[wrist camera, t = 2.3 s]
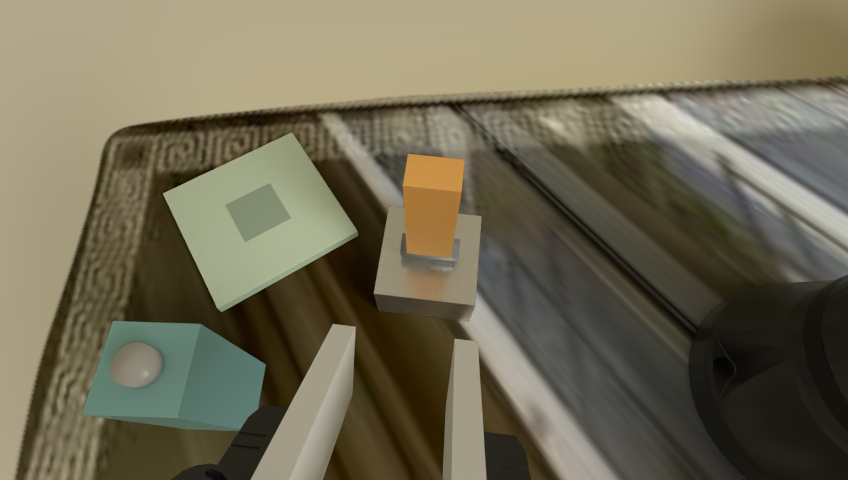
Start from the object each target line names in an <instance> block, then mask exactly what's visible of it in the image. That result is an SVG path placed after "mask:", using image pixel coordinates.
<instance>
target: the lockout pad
mask: <svg viewBox="0 0 848 480" xmlns="http://www.w3.org/2000/svg"><path fill="white" fill-rule="evenodd" d="M163 195H164V197H165V199H166V201H167V203H168V206H169V208H170V210H171V212H172V214H173V216H174V218H175V220H176V222H177V224H178V227H179V229H180V231H181V233H182V235H183V237H184V239H185V241H186V243H187V246H188V248H189V250H190V252H191V254H192V256H193V258H194V260H195V262H196V264H197V267H198V269H199V271H200V273H201V275H202V277H203V279H204V281H205V283H206V285H207V288H208V290H209V292H210V294H211V296H212V298H213V300H214V302H215V304H216V306H217V309H218V310H220V311H221V312H223V311H224V310H226V309H228V308H230V307H232V306H233V305H235V304H237V303H239V302H241V301H242V300H244V299H246V298H248V297H250V296H251V295H253V294H255V293H257V292H259V291H260V290H262V289H264V288H266V287H267V286H269V285H271V284H273V283H275V282H276V281H278V280H280V279H282V278H284V277H285V276H287V275H289V274H291V273H293V272H294V271H296V270H298V269H300V268H301V267H303V266H305V265H307V264H309V263H310V262H312V261H314V260H316V259H318V258H319V257H321V256H323V255H325V254H327V253H328V252H330V251H332V250H334V249H335V248H337V247H339V246H341V245H343V244H344V243H346V242H348V241H350V240H352V239H353V238H355V237H357V236H359V235H358V231H357V230H356V228H355V227H354V225H353V224H352V222H351V221H350V219H349V218H348V216H347V214H346V213H345V211H344V210H343V208H342V207H341V205H340V204H339V202H338V201H337V199H336V198H335V196H334V195H333V193H332V192H331V190H330V189H329V187H328V186H327V184H326V183H325V181H324V180H323V178H322V177H321V175H320V174H319V172H318V171H317V169H316V168H315V166H314V165H313V163H312V162H311V160H310V159H309V157H308V156H307V154H306V153H305V151H304V150H303V148H302V147H301V145H300V143H299V142H298V140H297V139H296V137H295V136H294V134H293V133H292V132H291V133H289V134H287V135H285V136H283V137H281V138H279V139H277V140H275V141H272V142H270V143H268V144H266V145H264V146H262V147H260V148H258V149H256V150H254V151H251V152H249V153H247V154H245V155H243V156H241V157H239V158H237V159H235V160H232V161H230V162H228V163H226V164H224V165H222V166H220V167H218V168H216V169H214V170H211V171H209V172H207V173H205V174H203V175H201V176H199V177H197V178H195V179H192V180H190V181H188V182H186V183H184V184H182V185H180V186H178V187H176V188H173V189H171V190H169V191H167V192H165V193H163Z"/></svg>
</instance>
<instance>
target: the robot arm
mask: <svg viewBox="0 0 848 480" xmlns="http://www.w3.org/2000/svg"><path fill="white" fill-rule="evenodd" d="M354 347H355V327H352V326H344V325H336V324H333V325H332V327H331V329H330V331H329V333H328V335H327V337H326V339H325V340H324V342H323V344H322V346H321V348H320V350H319V352H318V354H317V356H316V357H315V359H314V361H313V363H312V365H311V367H310V369H309V371H308V372H307V374H306V376H305V378H304V380H303V382H302V384H301V386H300V388H299V389H298V391H297V393H296V395H295V397H294V399H293V401H292V403H291V405H290V406H289V408H286V407H278V406H270V405H263V406H262V407H260V408H259V409H258V410H256V411H255V412H254V413H253V414H251V415H250V416H249V417H248V418H247V420H246V421H245V423H244V424H243V426H242V428H241V429H240V431H239V434H238V435H236V437H235V439H234V440H233V442H232V443H231V446H230V447H229V448H228V449H227V451H226V453H225V454H224V456H223V457H222V459H221V460H220V462H219V464H218V465H215V464H204V465H197V466H194V467H191V468H189V469H187V470H184V471H182V472H181V473H179V474H178V475H177V476H175V477H174V478H173V479H171V480H323V477H324V474H325V471H326V468H327V465H328V463H329V460H330V457H331V454H332V451H333V448H334V445H335V443H336V440H337V437H338V434H339V431H340V428H341V425H342V422H343V420H344V417H345V414H346V411H347V408H348V405H349V402H350V400H351V397H352V390H353V368H354ZM689 369H690V381H691V387H692V392H693V396H694V399H695V402H696V405H697V408H698V411H699V413H700V416H701V418H702V420H703V422H704V424H705V426H706V428H707V430H708V431H709V433H710V435H711V436H712V438H713V439H714V441H715V442H716V444H717V445H718V447H719V448H720V449H721V451H722V452H723V453H724V454H725V456H726V457H727V458H728V459H729V460H730V461H731V463H732V464H733V465H734V466H735V467H736V468H737V469H738V470H739V471H740V472H741V473H742V474H743V475H745V476H746V477H747V478H748V479H749V480H848V275H846V276H844V277H842V278H839V279H837V280H827V281H811V282H795V283H780V284H770V285H764V286H760V287H756V288H753V289H750V290H747V291H745V292H742V293H740V294H738V295H736V296H735V297H733V298H731V299H729V300H727V301H725V302H723V303H721V304H720V305H718V306H717V307H716V308H714V309H713V310H712V311H711V312H710V313H709V314H708V315H707V316H706V317H705V319H704V320H703V321H702V323H701V324H700V326H699V328H698V330H697V332H696V334H695V337H694V340H693V343H692V347H691V352H690V364H689ZM443 480H531V478H530V472H529V467H528V461H527V455H526V451H525V449H524V448H523V446H522V445H521V443H520V442H519V440H518V439H517V437H516V436H513V435H505V434H497V433H489V432H483V417H482V402H481V386H480V371H479V355H478V342H477V341H469V340H460V339H455V341H454V348H453V356H452V364H451V371H450V379H449V387H448V395H447V402H446V416H445V438H444V460H443Z"/></svg>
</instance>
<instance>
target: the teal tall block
mask: <svg viewBox="0 0 848 480" xmlns="http://www.w3.org/2000/svg"><path fill="white" fill-rule="evenodd" d="M265 366H266V365H265V364H264V363H262V362H261V361H259V360H258V359H256V358H254V357H253V356H251V355H250V354H248V353H246V352H245V351H243V350H242V349H240V348H238V347H237V346H235V345H234V344H232V343H230V342H229V341H227V340H226V339H224V338H222V337H221V336H219V335H218V334H216V333H214V332H213V331H211V330H210V329H208V328H206V327H205V326H203V325H202V324H187V323H157V322H127V321H113V323H112V326H111V329H110V332H109V334H108V337H107V340H106V343H105V346H104V349H103V352H102V355H101V358H100V361H99V364H98V367H97V370H96V373H95V376H94V379H93V382H92V385H91V388H90V391H89V394H88V397H87V400H86V403H85V406H84V409H83V412H82V415H86V416H94V417H101V418H108V419H116V420H123V421H130V422H138V423H145V424H153V425H160V426H167V427H175V428H182V429H193V430H222V431H240V429H241V428H242V426H243V424H244V423H245V421H246V420H247V418H248V417H249V416H250V415H251V414H253V413H254V412H255V411H256V410H258V405H259V400H260V394H261V389H262V383H263V377H264V372H265Z"/></svg>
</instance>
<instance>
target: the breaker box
mask: <svg viewBox="0 0 848 480" xmlns="http://www.w3.org/2000/svg"><path fill="white" fill-rule="evenodd" d="M481 217H482V216H476V215H466V214H458V217H457V224H456V230H455V236H454V239H460V247H459V256H458V262H453V261H444V260H436V259H427V258H418V257H409V256H401V255H400V248H401V239H402V234H403V233H406V231H405V214H404V208H402V207H393V206H389V210H388V215H387V221H386V227H385V232H384V238H383V244H382V249H381V255H380V261H379V266H378V272H377V278H376V284H375V289H374V296H375V300H376V304H377V308H378V311H385V312H393V313H401V314H410V315H418V316H427V317H435V318H444V319H452V320H460V321H470V318H471V315H472V313H473V310H474V307H475V300H476V286H477V272H478V259H479V245H480V231H481Z"/></svg>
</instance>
